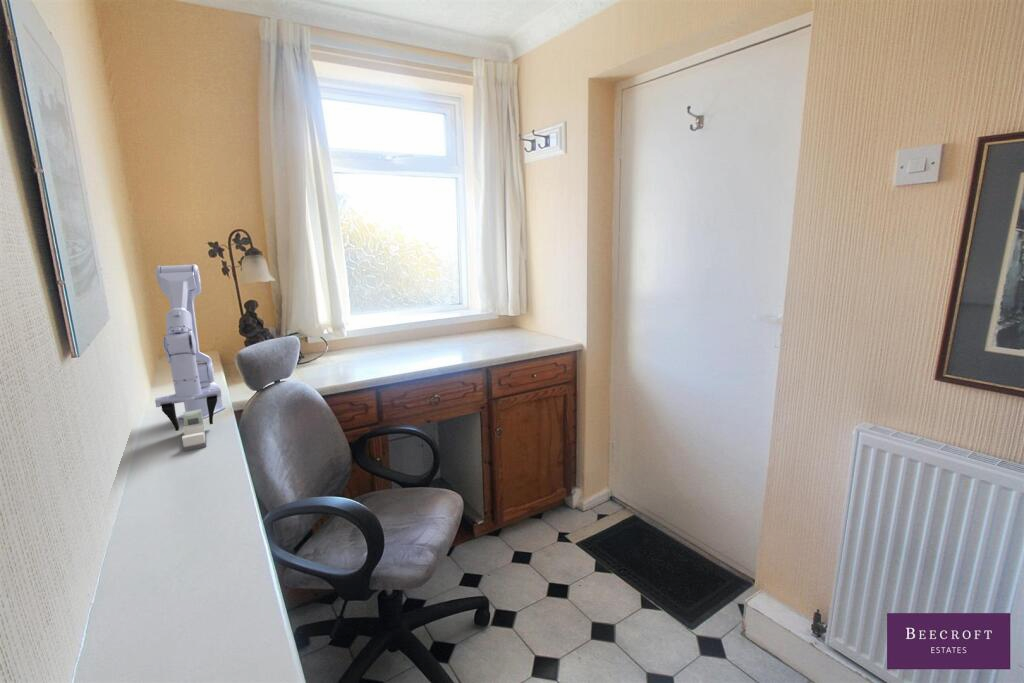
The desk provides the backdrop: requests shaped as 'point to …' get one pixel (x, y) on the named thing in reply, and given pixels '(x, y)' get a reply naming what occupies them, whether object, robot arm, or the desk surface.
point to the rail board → (194, 437)
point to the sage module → (193, 417)
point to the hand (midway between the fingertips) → (194, 426)
